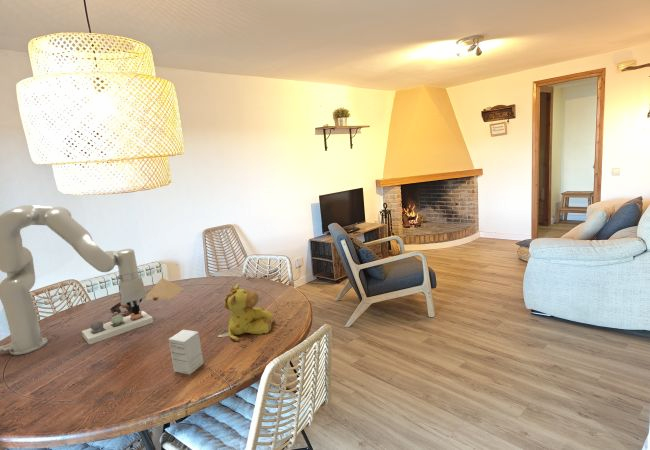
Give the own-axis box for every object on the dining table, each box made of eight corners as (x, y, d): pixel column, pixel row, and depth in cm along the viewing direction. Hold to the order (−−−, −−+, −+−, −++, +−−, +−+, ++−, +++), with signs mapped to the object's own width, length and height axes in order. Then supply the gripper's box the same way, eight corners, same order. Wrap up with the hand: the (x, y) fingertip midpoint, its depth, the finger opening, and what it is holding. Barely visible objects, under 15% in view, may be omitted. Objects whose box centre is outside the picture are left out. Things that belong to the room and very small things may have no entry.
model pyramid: (141, 301, 202) (138, 283, 201) (159, 289, 219) (156, 273, 217) (169, 300, 200) (166, 283, 198) (185, 288, 217) (183, 272, 215)
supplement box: (188, 360, 136) (183, 328, 134) (204, 363, 133) (199, 331, 131) (173, 371, 130) (167, 338, 127) (189, 375, 127) (184, 341, 124)
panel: (89, 344, 155) (88, 339, 154) (82, 336, 163) (81, 330, 163) (153, 322, 172) (152, 317, 172) (144, 315, 181) (143, 310, 180)
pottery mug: (123, 320, 178) (111, 307, 177) (116, 324, 184) (105, 312, 183) (143, 305, 188) (133, 292, 187) (136, 309, 194) (126, 297, 192)
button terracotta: (133, 324, 170) (132, 316, 169) (130, 321, 173) (129, 314, 172) (144, 320, 173) (142, 313, 172) (140, 318, 176) (139, 310, 176)
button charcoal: (93, 335, 159) (91, 327, 158) (90, 332, 162) (89, 324, 161) (105, 331, 162) (103, 323, 161) (102, 328, 165) (101, 320, 164)
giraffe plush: (281, 328, 156) (277, 285, 153) (227, 348, 144) (221, 301, 140) (261, 313, 173) (256, 274, 170) (211, 330, 160) (205, 288, 157)
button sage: (114, 328, 164) (112, 320, 163) (111, 325, 167) (109, 317, 167) (125, 324, 167) (123, 316, 167) (122, 321, 171) (120, 314, 170)
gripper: (113, 282, 161) (121, 321, 165) (149, 273, 171) (155, 310, 175) (108, 279, 167) (116, 317, 170) (143, 270, 177) (150, 306, 180)
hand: (136, 313), depth 172 cm, fingers closed
